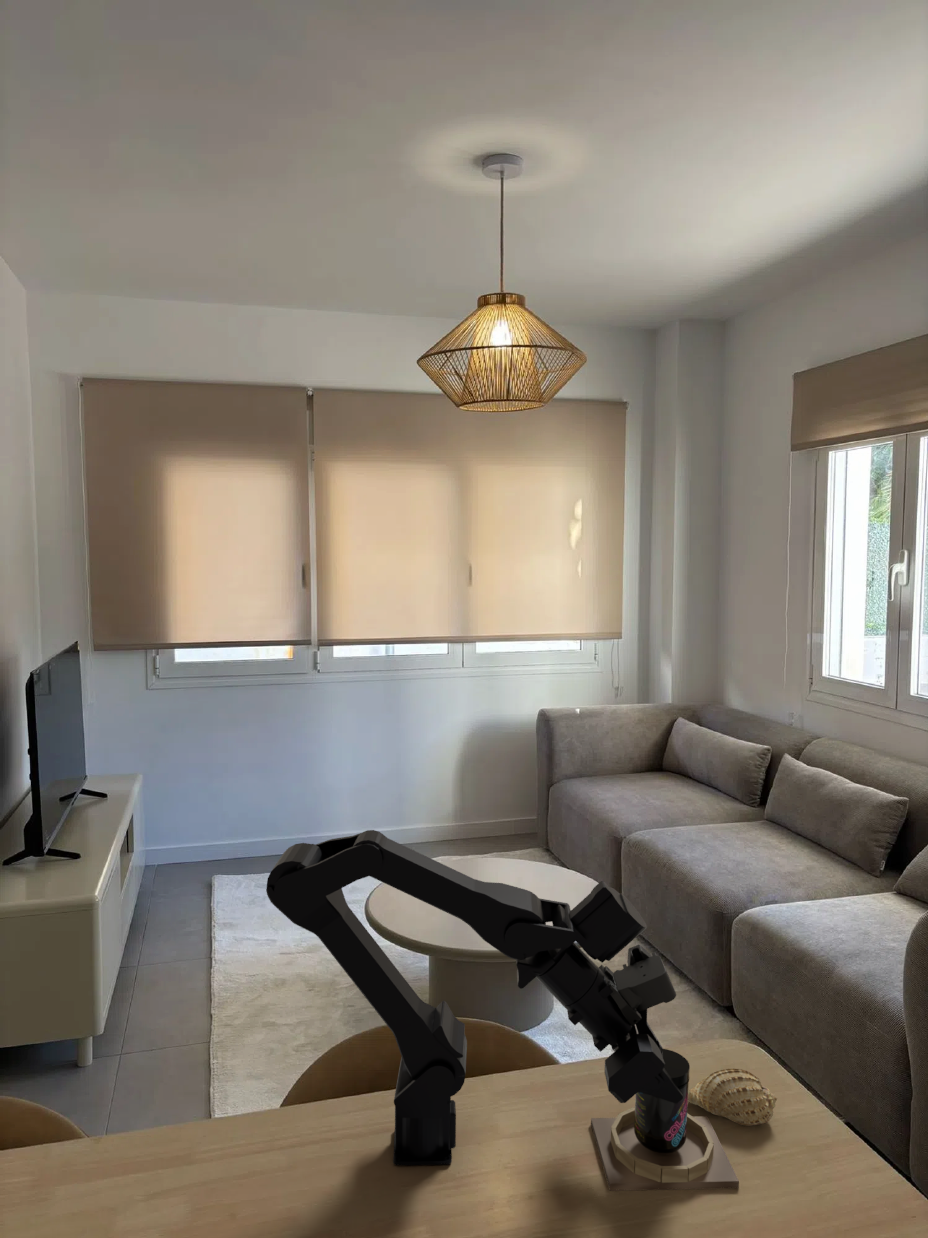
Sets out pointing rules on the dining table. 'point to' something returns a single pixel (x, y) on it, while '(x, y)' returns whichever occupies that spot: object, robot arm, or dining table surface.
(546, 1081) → the dining table surface
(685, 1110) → the supplement container
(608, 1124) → the collar board
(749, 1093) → the seashell
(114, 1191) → the dining table surface
